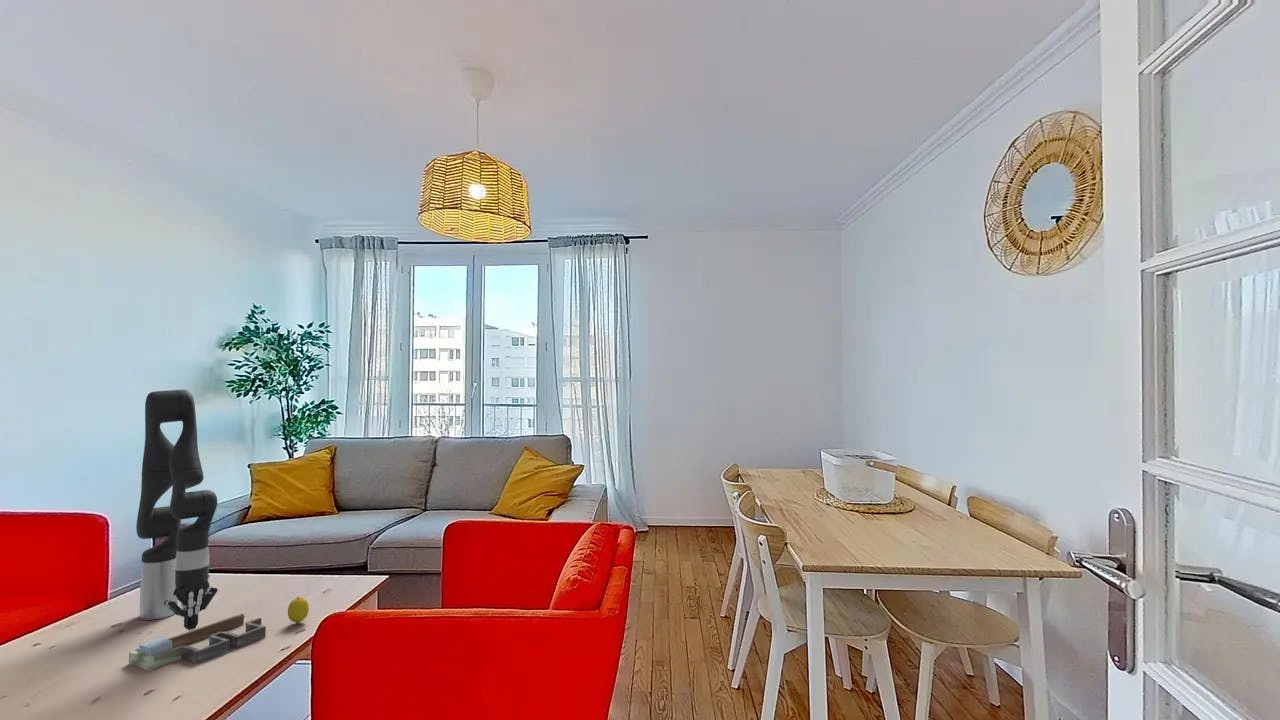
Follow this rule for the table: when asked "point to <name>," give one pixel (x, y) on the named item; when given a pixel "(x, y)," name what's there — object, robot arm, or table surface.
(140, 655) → the trap box
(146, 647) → the block
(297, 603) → the lemon
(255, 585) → the table surface
